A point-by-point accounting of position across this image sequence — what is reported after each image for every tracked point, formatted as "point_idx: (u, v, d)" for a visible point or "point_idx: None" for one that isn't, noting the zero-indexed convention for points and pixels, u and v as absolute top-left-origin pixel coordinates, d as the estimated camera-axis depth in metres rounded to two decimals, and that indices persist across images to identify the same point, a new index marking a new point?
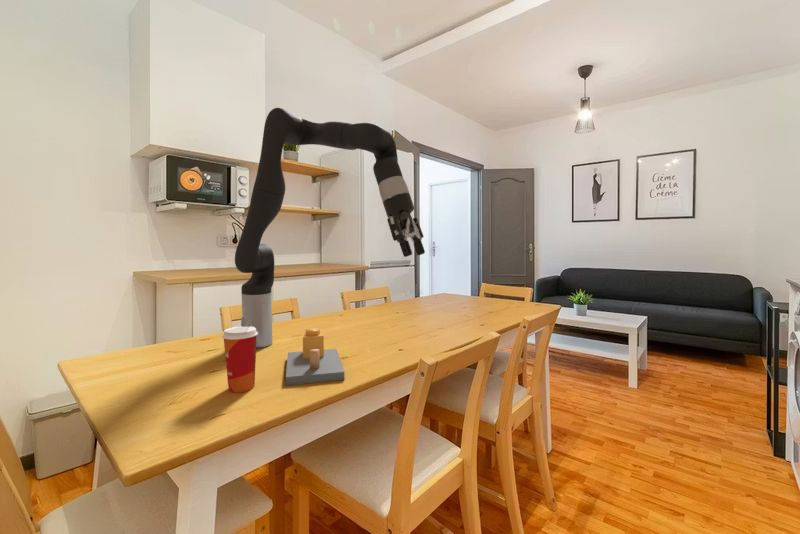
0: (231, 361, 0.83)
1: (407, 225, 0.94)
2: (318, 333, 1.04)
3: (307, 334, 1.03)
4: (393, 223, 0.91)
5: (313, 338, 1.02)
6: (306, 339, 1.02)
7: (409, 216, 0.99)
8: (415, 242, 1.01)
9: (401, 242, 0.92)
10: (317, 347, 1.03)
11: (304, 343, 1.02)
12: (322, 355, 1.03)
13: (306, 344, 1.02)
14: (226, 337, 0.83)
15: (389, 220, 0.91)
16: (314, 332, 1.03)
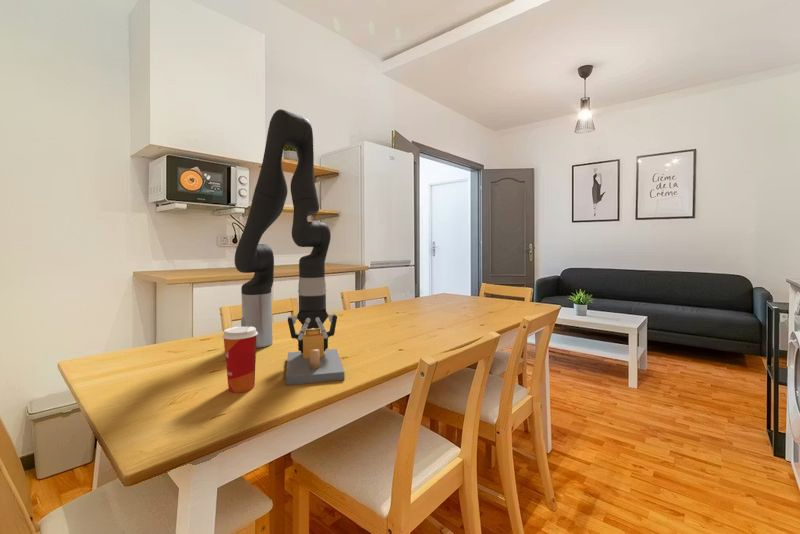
0: (231, 361, 0.83)
1: (304, 325, 1.03)
2: (318, 333, 1.04)
3: (307, 334, 1.03)
4: (289, 323, 1.03)
5: (313, 338, 1.02)
6: (306, 339, 1.02)
7: (321, 312, 1.04)
8: None
9: (298, 339, 1.04)
10: (317, 347, 1.03)
11: (304, 343, 1.02)
12: (322, 355, 1.03)
13: (306, 344, 1.02)
14: (226, 337, 0.83)
15: None
16: (314, 332, 1.03)
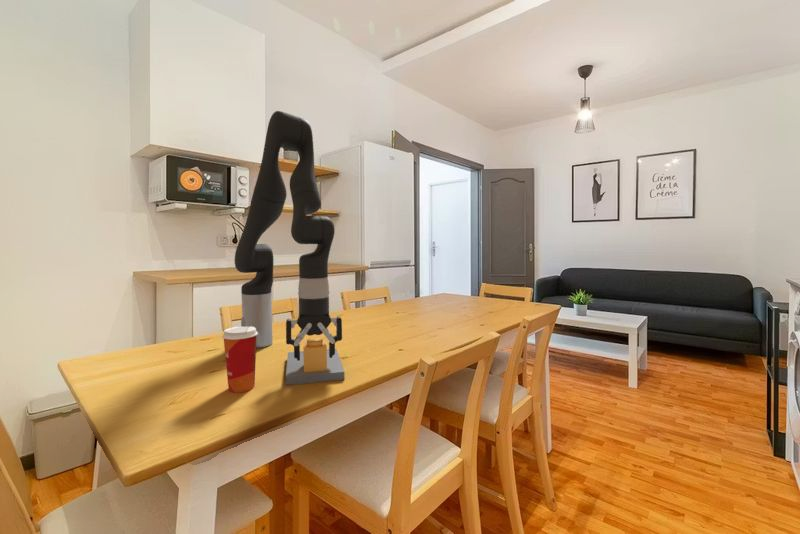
0: (231, 361, 0.83)
1: (304, 331, 0.92)
2: (321, 344, 0.94)
3: (308, 345, 0.93)
4: None
5: (315, 349, 0.92)
6: (307, 351, 0.91)
7: (323, 317, 0.93)
8: (329, 343, 0.96)
9: (293, 345, 0.93)
10: (319, 359, 0.92)
11: (305, 355, 0.91)
12: (325, 368, 0.93)
13: (307, 356, 0.91)
14: (226, 337, 0.83)
15: None
16: (316, 343, 0.93)
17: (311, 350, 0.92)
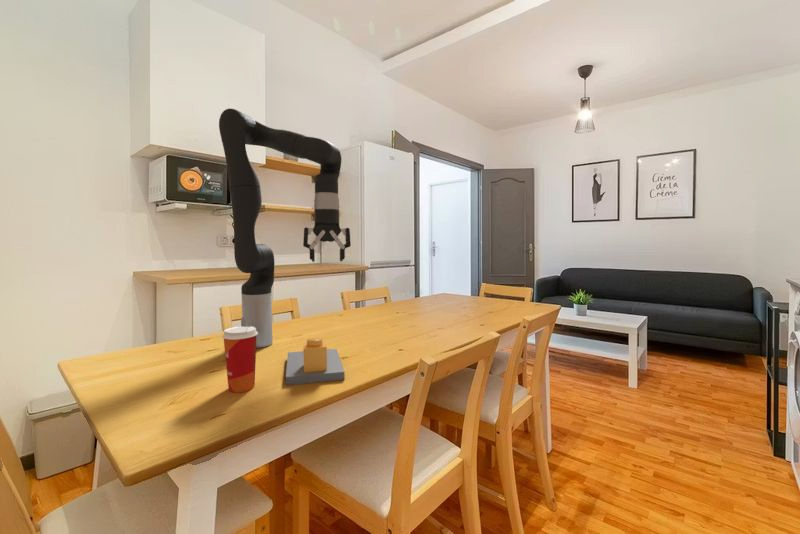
0: (231, 361, 0.83)
1: (318, 236, 1.12)
2: (321, 344, 0.94)
3: (308, 345, 0.93)
4: (304, 233, 1.12)
5: (315, 349, 0.92)
6: (307, 351, 0.91)
7: (334, 227, 1.13)
8: (340, 249, 1.16)
9: (309, 249, 1.13)
10: (319, 359, 0.92)
11: (305, 355, 0.91)
12: (325, 368, 0.93)
13: (307, 356, 0.91)
14: (226, 337, 0.83)
15: None
16: (316, 343, 0.93)
17: (311, 350, 0.92)
